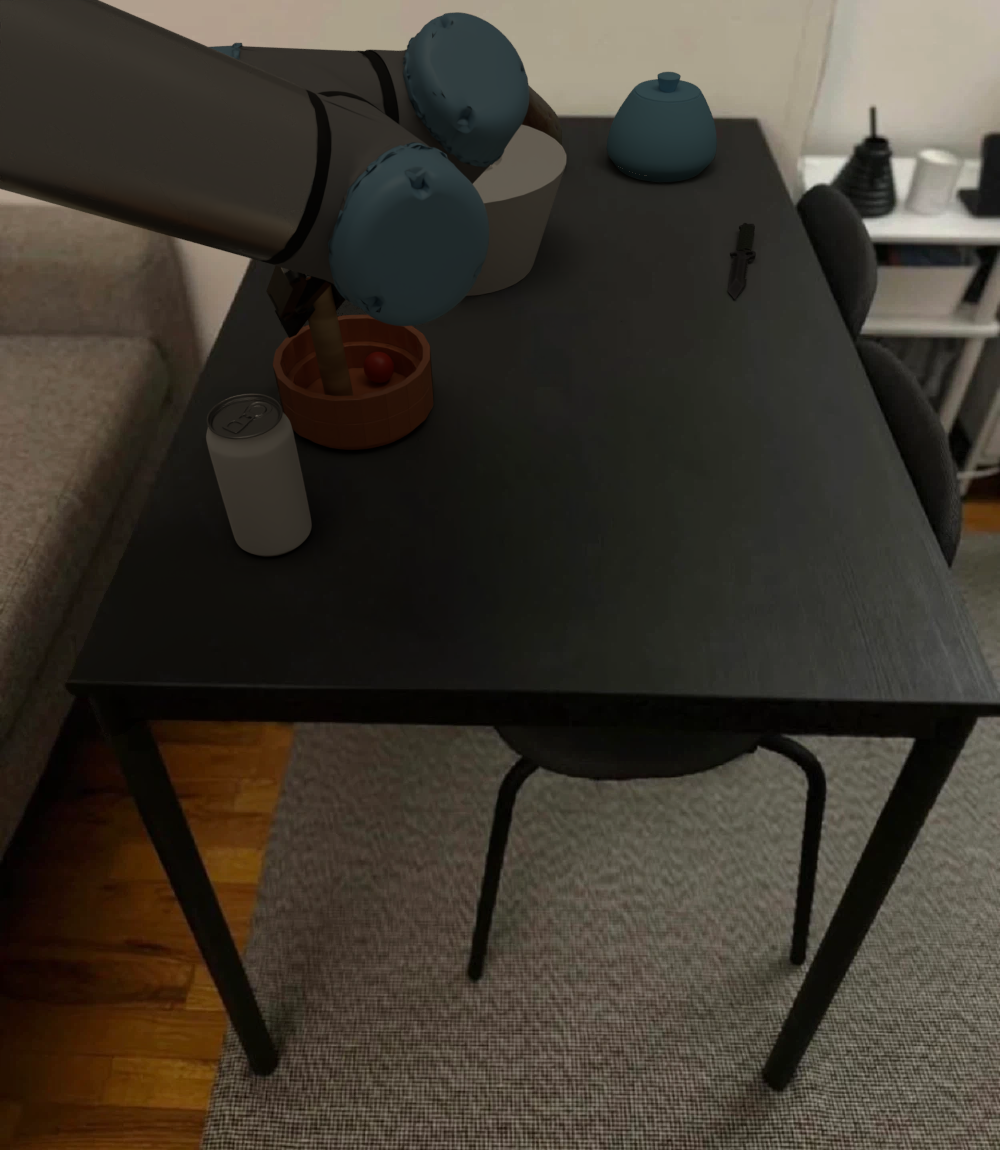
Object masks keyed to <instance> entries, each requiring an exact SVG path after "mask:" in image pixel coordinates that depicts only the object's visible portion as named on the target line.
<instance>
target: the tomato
mask: <svg viewBox="0 0 1000 1150" xmlns="http://www.w3.org/2000/svg"><path fill="white" fill-rule="evenodd" d="M363 369H364V373H365V375H366V376H367V378H368V379H369V380H371V381H373V382H375V383H383V382H386V381H388V380H389V379H390V378H391V377H392V375H393V372H394V363H393V361H392V359H391V357H390V356H389V355H387V354H386V353H383V352H373V353H371V354H370V355H368V356H367V358H366V359H365V361H364V365H363Z"/></svg>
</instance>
